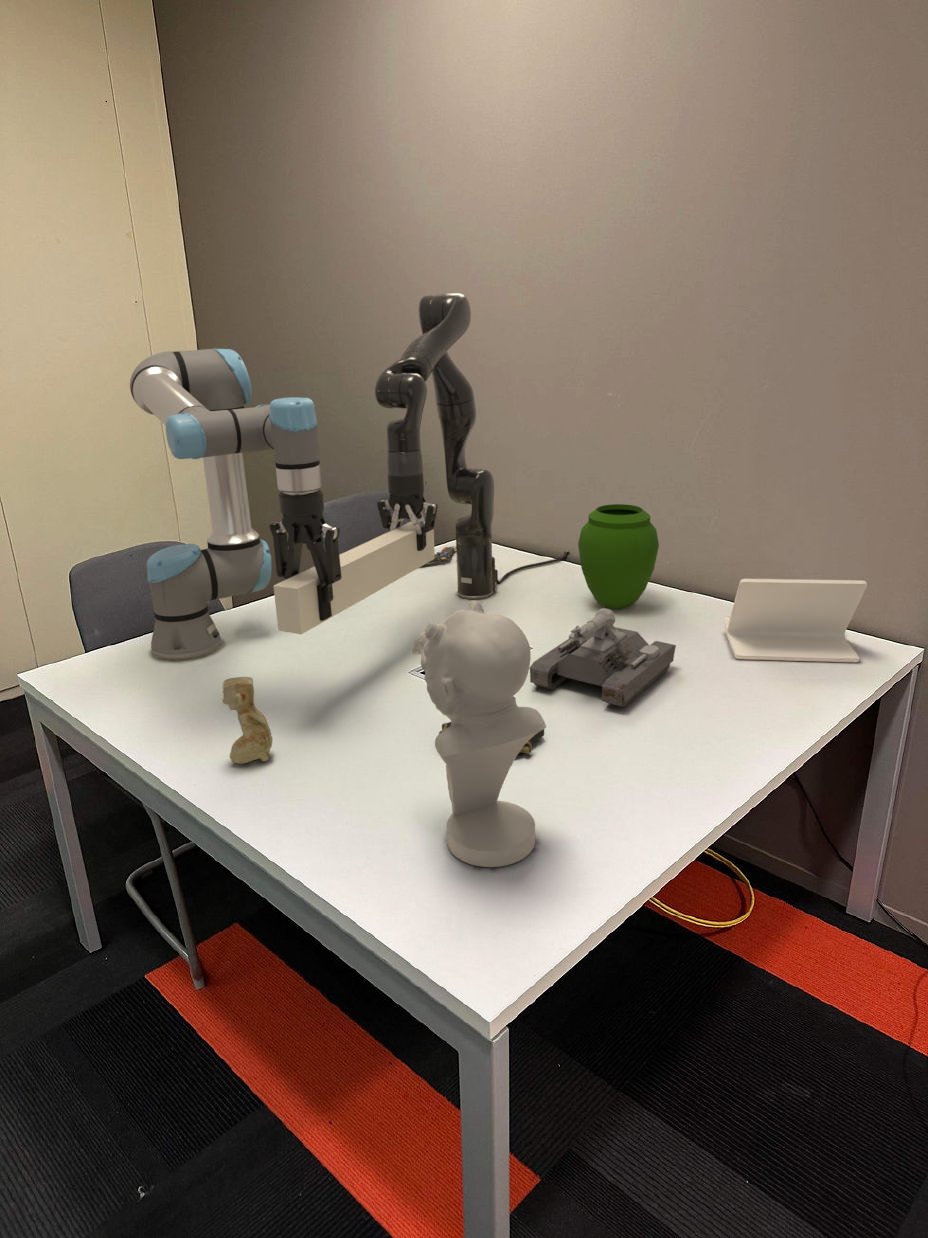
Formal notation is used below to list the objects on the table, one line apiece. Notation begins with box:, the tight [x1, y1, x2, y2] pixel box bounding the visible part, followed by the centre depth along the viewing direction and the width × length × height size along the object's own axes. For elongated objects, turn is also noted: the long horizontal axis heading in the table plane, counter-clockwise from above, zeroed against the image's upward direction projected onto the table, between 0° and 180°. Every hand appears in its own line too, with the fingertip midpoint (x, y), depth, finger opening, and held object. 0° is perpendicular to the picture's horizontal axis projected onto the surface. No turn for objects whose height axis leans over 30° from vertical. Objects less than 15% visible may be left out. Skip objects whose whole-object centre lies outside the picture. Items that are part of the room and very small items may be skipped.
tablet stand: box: [724, 578, 868, 663], centre depth 184 cm, size 18×25×17 cm
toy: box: [529, 607, 677, 708], centre depth 171 cm, size 25×20×15 cm
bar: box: [273, 520, 436, 635], centre depth 170 cm, size 51×5×8 cm, turn 154°
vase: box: [577, 503, 660, 610], centre depth 210 cm, size 20×20×24 cm
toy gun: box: [425, 545, 456, 565], centre depth 256 cm, size 3×19×10 cm
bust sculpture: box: [410, 599, 547, 868], centre depth 121 cm, size 16×24×35 cm
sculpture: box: [222, 676, 273, 765], centre depth 144 cm, size 6×7×15 cm
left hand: (312, 615), depth 156 cm, fingers closed on bar, 5 cm apart
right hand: (409, 548), depth 186 cm, fingers closed on bar, 5 cm apart
